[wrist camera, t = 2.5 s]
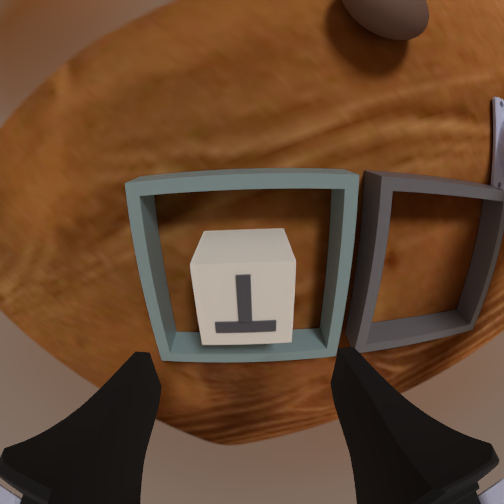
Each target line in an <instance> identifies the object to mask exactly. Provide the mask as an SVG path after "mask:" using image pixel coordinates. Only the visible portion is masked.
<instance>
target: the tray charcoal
mask: <svg viewBox="0 0 504 504" xmlns="http://www.w3.org/2000/svg"><path fill="white" fill-rule="evenodd" d="M393 191H403V192H417V193H430V194H442V195H452V196H462V197H471V198H480V199H483V204H482V211H481V217H480V223H479V228H478V233H477V238H476V243H475V247H474V251H473V256H472V260H471V263H470V267H469V271H468V275H467V278H466V281H465V285H464V288H463V291H462V294H461V297H460V300H459V303H458V306H457V309H456V310H450V311H445V312H440V313H434V314H428V315H422V316H416V317H410V318H403V319H396V320H389V321H381V322H373V323H371V322H372V318H373V314H374V310H375V305H376V301H377V296H378V291H379V286H380V281H381V276H382V270H383V264H384V258H385V252H386V246H387V239H388V231H389V223H390V215H391V205H392V195H393ZM503 232H504V190H502V189H500V188H497V187H494V186H491V185H487V184H481V183H475V182H469V181H463V180H456V179H449V178H441V177H433V176H425V175H415V174H405V173H394V172H382V171H367V170H365V176H364V193H363V207H362V219H361V230H360V239H359V248H358V256H357V264H356V271H355V278H354V285H353V291H352V297H351V303H350V309H349V314H348V320H347V325H346V330H345V335H346V337H347V339H348V342H349V344H350V346H351V347H354V348H355V349H356V350H357V351H358V352H359V353H363V352H370V351H377V350H383V349H389V348H394V347H400V346H405V345H410V344H415V343H420V342H425V341H430V340H434V339H438V338H443V337H447V336H451V335H455V334H459V333H463V332H466V331H470V330H473V328H474V325H475V323H476V320H477V318H478V315H479V313H480V310H481V308H482V305H483V302H484V300H485V297H486V294H487V291H488V288H489V285H490V282H491V279H492V275H493V272H494V269H495V265H496V261H497V258H498V254H499V250H500V246H501V241H502V237H503Z"/></svg>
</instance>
